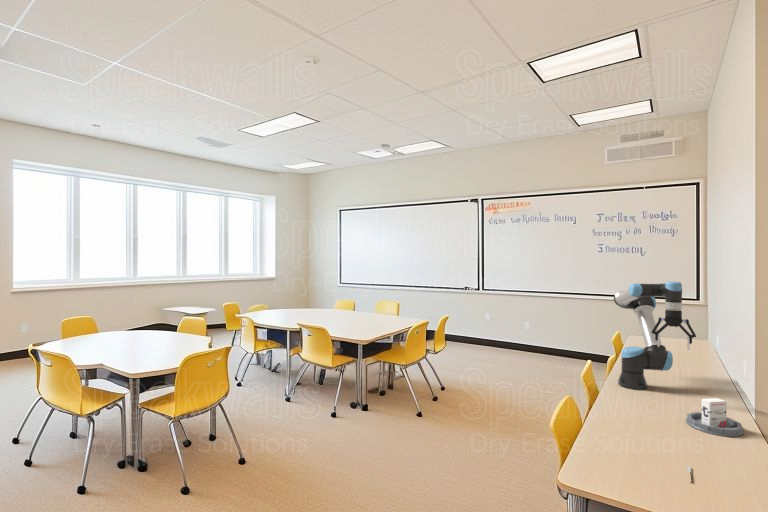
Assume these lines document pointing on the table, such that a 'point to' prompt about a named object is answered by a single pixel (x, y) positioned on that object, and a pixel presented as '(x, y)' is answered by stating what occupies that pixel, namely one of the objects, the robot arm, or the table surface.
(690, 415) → the round bowl
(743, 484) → the table surface
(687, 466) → the grey thin rod
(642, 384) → the robot arm
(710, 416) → the ink box
